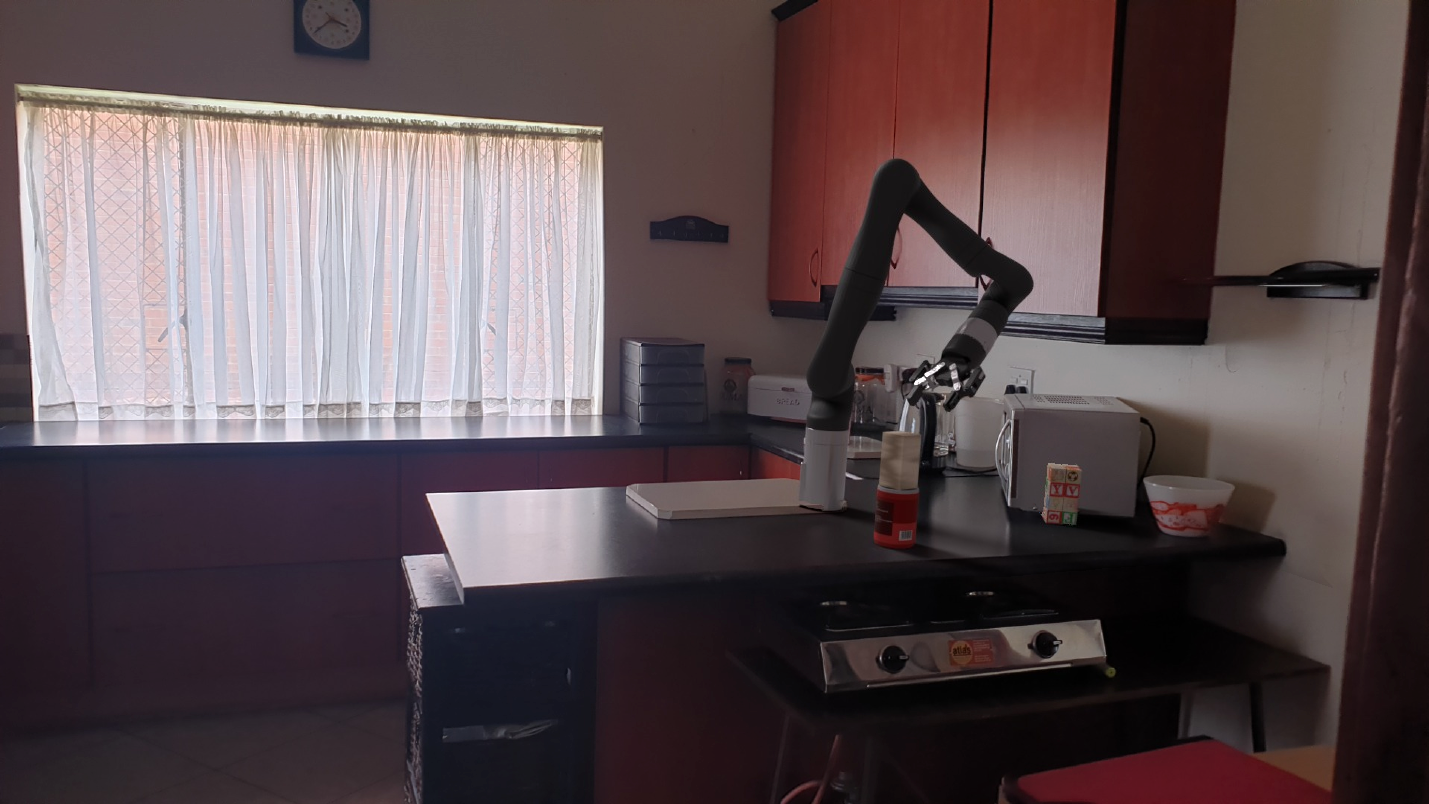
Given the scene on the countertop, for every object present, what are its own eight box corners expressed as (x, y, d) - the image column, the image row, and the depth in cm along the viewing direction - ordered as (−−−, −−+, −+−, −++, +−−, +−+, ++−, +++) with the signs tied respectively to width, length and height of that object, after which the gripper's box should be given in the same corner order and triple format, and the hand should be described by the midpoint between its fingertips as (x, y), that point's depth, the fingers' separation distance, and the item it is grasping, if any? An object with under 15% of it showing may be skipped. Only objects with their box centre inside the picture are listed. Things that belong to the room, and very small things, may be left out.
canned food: (919, 542, 189) (923, 485, 187) (908, 551, 181) (913, 492, 180) (880, 536, 192) (884, 480, 191) (868, 545, 185) (872, 487, 183)
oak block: (878, 485, 186) (882, 432, 185) (896, 482, 189) (900, 430, 188) (899, 490, 182) (903, 436, 181) (917, 487, 185) (921, 434, 184)
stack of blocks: (1032, 503, 233) (1037, 451, 232) (1060, 506, 232) (1065, 454, 231) (1046, 523, 212) (1051, 466, 211) (1076, 526, 211) (1082, 469, 210)
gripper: (933, 329, 198) (890, 388, 192) (993, 334, 187) (950, 397, 181) (947, 356, 202) (906, 414, 196) (1007, 363, 191) (966, 424, 185)
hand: (927, 406), depth 188 cm, fingers open, 8 cm apart
